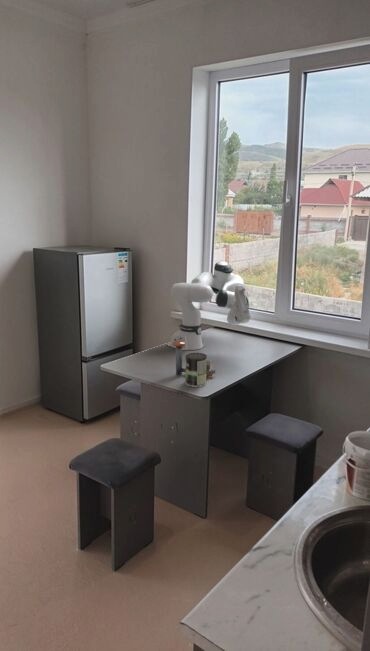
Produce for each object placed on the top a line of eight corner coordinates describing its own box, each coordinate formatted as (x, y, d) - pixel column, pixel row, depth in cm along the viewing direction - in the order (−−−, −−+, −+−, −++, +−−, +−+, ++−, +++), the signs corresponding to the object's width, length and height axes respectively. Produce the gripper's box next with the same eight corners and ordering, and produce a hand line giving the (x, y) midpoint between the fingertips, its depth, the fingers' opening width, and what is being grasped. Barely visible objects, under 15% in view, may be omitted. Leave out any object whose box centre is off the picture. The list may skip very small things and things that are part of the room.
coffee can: (186, 387, 237) (186, 359, 233) (184, 379, 247) (184, 352, 243) (207, 386, 238) (208, 358, 234) (205, 379, 248) (205, 352, 244)
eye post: (197, 378, 249) (197, 365, 247) (199, 373, 257) (199, 360, 255) (211, 378, 248) (211, 365, 246) (212, 373, 256) (213, 360, 254)
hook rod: (171, 375, 251) (171, 343, 247) (173, 371, 258) (173, 340, 253) (214, 377, 248) (215, 345, 244) (215, 373, 255) (216, 342, 251)
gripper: (241, 291, 278) (247, 279, 265) (248, 324, 270) (255, 313, 257) (230, 292, 276) (235, 280, 264) (237, 325, 268) (244, 314, 256)
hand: (245, 297), depth 260 cm, fingers open, 8 cm apart
